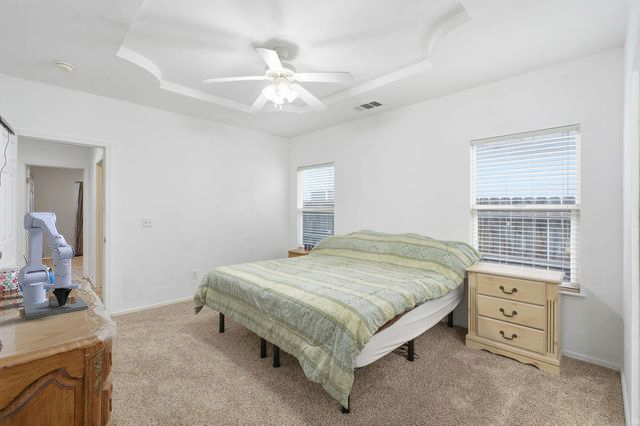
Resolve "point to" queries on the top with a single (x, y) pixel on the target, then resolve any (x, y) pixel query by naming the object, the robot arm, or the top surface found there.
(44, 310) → the latch plate
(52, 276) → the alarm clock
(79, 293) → the top surface
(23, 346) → the top surface
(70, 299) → the grey beige handled piece
